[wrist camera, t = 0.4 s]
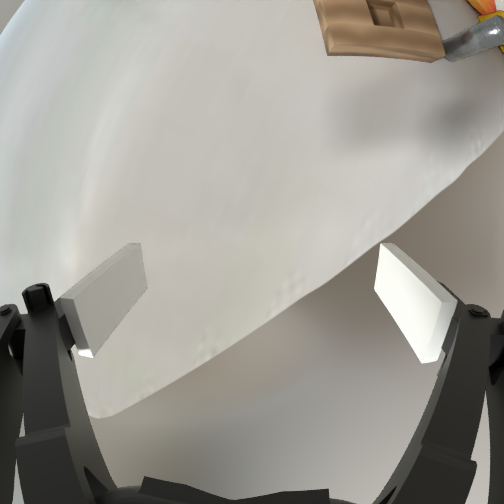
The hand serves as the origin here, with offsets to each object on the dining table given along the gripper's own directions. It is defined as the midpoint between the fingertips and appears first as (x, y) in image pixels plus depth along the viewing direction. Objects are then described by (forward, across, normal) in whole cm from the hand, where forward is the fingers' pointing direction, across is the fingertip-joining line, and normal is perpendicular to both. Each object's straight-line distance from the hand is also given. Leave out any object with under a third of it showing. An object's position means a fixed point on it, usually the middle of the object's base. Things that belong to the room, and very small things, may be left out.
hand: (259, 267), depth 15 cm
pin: (+27, +32, +27) cm, 50 cm away
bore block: (+27, +18, +28) cm, 43 cm away
